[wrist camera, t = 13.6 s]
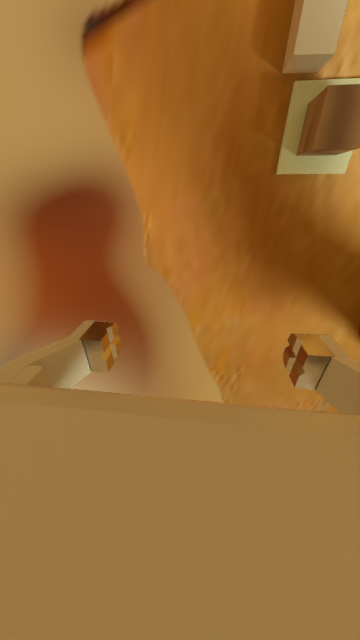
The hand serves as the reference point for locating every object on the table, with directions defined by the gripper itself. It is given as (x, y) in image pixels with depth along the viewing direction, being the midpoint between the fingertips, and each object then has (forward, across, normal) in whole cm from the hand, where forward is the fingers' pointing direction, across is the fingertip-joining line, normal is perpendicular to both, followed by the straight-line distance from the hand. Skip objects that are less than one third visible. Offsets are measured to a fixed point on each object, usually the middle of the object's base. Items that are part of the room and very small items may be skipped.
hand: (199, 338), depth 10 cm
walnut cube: (+28, -14, -13) cm, 34 cm away
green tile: (+29, -14, -13) cm, 35 cm away
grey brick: (+29, -10, -22) cm, 38 cm away
